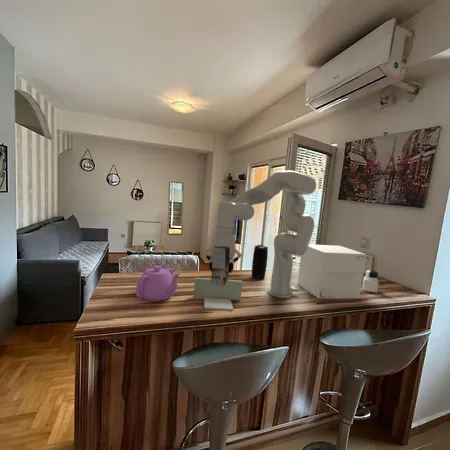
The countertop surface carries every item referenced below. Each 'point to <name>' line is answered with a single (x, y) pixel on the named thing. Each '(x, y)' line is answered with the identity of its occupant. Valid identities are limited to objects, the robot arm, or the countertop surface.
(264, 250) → the portable speaker
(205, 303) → the mat
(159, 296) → the teapot
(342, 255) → the cube
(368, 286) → the medicine bottle
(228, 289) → the screen
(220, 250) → the coffee box
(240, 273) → the countertop surface
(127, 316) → the countertop surface
